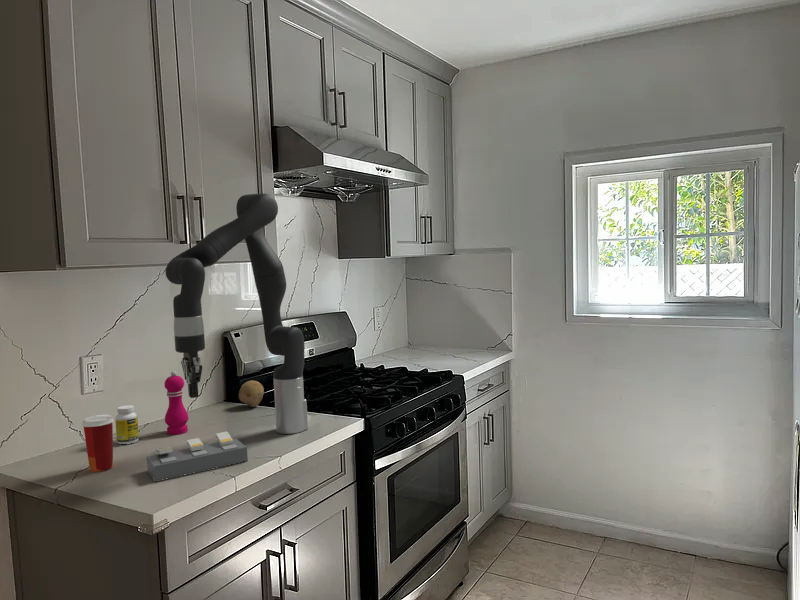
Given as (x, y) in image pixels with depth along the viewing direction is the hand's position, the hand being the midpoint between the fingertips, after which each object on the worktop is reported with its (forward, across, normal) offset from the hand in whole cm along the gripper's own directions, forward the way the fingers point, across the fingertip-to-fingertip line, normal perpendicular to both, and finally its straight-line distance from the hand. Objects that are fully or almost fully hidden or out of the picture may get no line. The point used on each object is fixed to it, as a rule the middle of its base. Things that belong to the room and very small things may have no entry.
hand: (193, 397), depth 164 cm
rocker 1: (+13, +2, +8) cm, 16 cm away
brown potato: (+19, +52, -33) cm, 64 cm away
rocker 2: (+14, +2, -8) cm, 16 cm away
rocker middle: (+13, +2, 0) cm, 13 cm away
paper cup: (+19, +14, +22) cm, 33 cm away
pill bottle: (+19, +36, +12) cm, 42 cm away
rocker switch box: (+19, 0, 0) cm, 19 cm away
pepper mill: (+19, +36, -3) cm, 41 cm away
